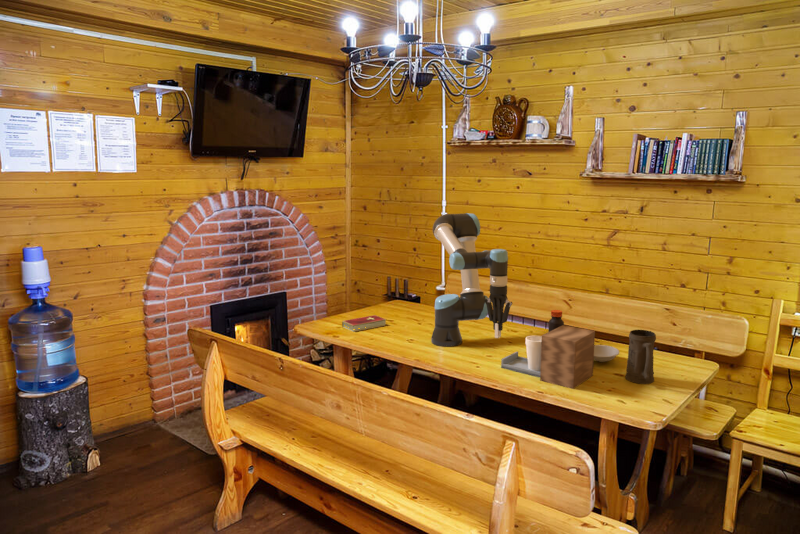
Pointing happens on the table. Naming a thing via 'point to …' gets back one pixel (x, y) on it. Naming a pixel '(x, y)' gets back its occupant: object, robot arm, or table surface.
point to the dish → (604, 353)
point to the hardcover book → (364, 323)
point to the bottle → (555, 320)
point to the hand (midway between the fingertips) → (497, 337)
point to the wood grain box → (567, 356)
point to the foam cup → (534, 352)
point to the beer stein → (640, 357)
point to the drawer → (518, 364)
